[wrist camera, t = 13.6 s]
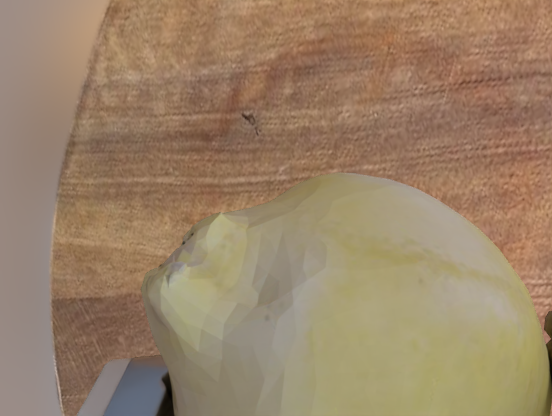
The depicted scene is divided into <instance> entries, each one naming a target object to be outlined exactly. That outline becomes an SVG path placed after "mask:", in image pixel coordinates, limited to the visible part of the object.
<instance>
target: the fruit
mask: <svg viewBox="0 0 552 416" xmlns="http://www.w3.org/2000/svg"><path fill="white" fill-rule="evenodd" d="M141 292H142V297H143V301H144V306H145V310H146V315H147V318H148V322H149V326H150V329H151V332H152V335H153V338H154V341H155V344H156V346H157V348H158V350H159V352H160V354H161V356H162V358H163V360H164V362H165V364H166V366H167V368H168V371H169V376H170V381H171V386H172V394H173V407H174V415H175V416H549V415H550V410H551V404H552V384H551V376H550V371H549V369H550V368H549V359H548V352H547V347H546V344H545V341H544V338H543V333H542V329H541V325H540V322H539V319H538V316H537V313H536V310H535V308H534V305H533V302H532V299H531V297H530V294H529V292H528V290H527V288H526V286H525V285H524V283H523V282H522V281H521V279H520V278H519V276H518V275H517V274H516V272H515V271H514V269H513V268H512V267H511V265H510V264H509V262H508V261H507V259H506V258H505V257H504V255H503V254H502V252H501V251H500V250H499V249H498V248H497V247H496V246H495V245H494V243H493V242H492V241H491V240H490V239H489V238H488V237H487V236H486V235H485V234H484V233H483V232H482V231H481V230H480V229H479V228H477V227H476V226H475V225H473V224H472V223H471V222H469V221H468V220H467V219H466V218H464V217H463V216H461V215H460V214H459V213H457V212H456V211H454V210H453V209H451V208H450V207H448V206H447V205H445V204H444V203H442V202H440V201H439V200H437V199H435V198H433V197H431V196H430V195H428V194H426V193H424V192H422V191H420V190H418V189H417V188H414V187H411V186H408V185H405V184H402V183H399V182H396V181H393V180H390V179H385V178H379V177H373V176H367V175H362V174H355V173H340V172H339V173H332V174H326V175H320V176H317V177H314V178H311V179H308V180H306V181H303V182H300V183H298V184H297V185H295V186H293V187H292V188H290V189H289V190H287V191H286V192H284V193H282V194H281V195H279V196H278V197H276V198H275V199H273V200H272V201H270V202H268V203H265V204H261V205H258V206H254V207H251V208H247V209H242V210H237V211H231V212H226V213H221V212H219V213H216V214H213V215H211V216H208V217H206V218H204V219H202V220H201V221H200V222H198V223H197V224H195V225H194V226H192V228H191V229H190V230H189V231H188V232H187V233H186V234H185V235H184V238H183V243H182V245H181V246H180V247H179V248H177V249H176V250H175V251H174V252H173V253H172V254H171V255H170V257H169V258H168V259H167V260H166V261H165V262H164V263H163V264H161V265H160V266H159V267H158V268H155V269H153V270H150V271H149V272H147V273H146V274H145V278H144V281H143V284H142V287H141Z"/></svg>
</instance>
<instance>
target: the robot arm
mask: <svg viewBox="0 0 552 416" xmlns="http://www.w3.org/2000/svg"><path fill="white" fill-rule="evenodd" d="M544 330H545V331H546V332H547V334H548V335H549V336H550V338H551V340H550V341H549V342H548V343H547V344H546V347H547V352H548V359H549V368H550V369H549V371H550V376H551V384H552V311H549V312H548V314H547V316H546V317H545V325H544ZM77 416H175V415H174V407H173V394H172V386H171V381H170V376H169V371H168V368H167V366H166V364H165V362H164V360H163V358H162V356H161V355H154V356H143V357H135V358H126V359H114V360H111V361H109V362H108V363H107V364H105V366H104V367H103V369H102V371H101V373H100V375H99V376H98V378H97V380H96V382H95V384H94V385H93V387H92V389H91V391H90V393H89V394H88V396H87V398H86V400H85V402H84V403H83V405H82V407H81V409H80V411H79V412H78V414H77Z"/></svg>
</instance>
